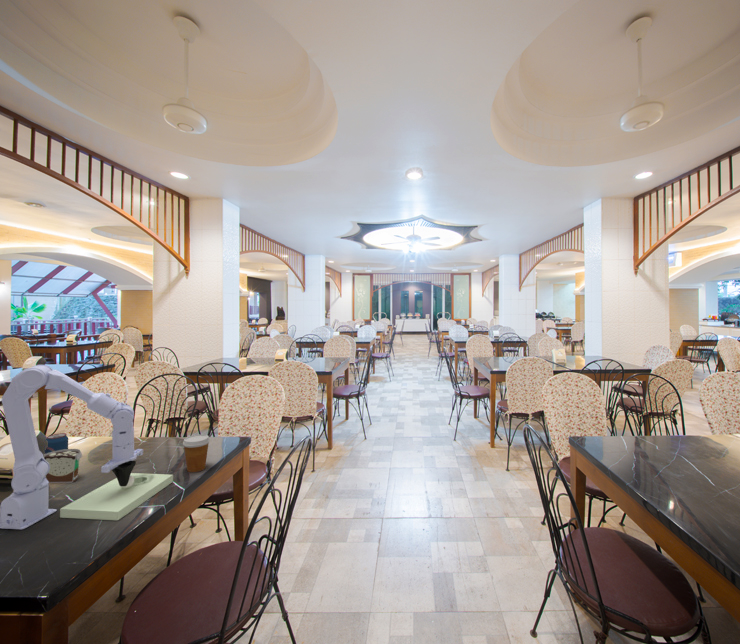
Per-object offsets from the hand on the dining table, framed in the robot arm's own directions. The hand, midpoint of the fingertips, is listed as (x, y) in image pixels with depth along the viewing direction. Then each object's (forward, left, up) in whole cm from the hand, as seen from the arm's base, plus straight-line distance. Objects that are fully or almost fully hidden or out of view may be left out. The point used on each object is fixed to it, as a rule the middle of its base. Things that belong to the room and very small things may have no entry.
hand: (123, 485), depth 110 cm
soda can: (+21, +46, -4) cm, 51 cm away
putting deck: (0, 0, -4) cm, 4 cm away
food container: (+11, +31, -4) cm, 34 cm away
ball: (+1, 0, 0) cm, 2 cm away
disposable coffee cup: (+23, -11, -4) cm, 26 cm away
